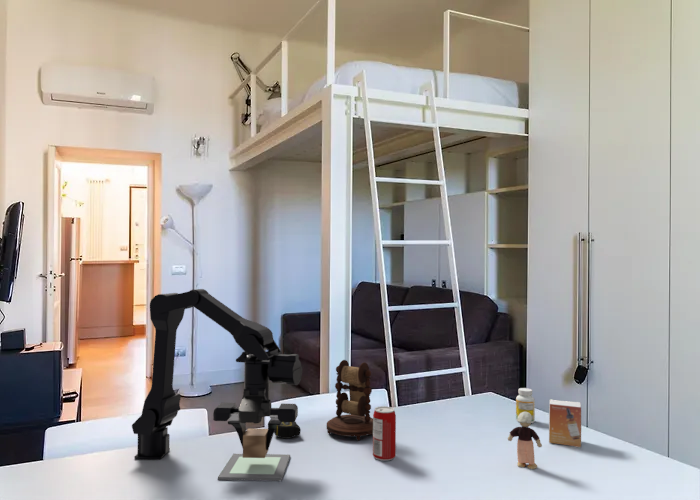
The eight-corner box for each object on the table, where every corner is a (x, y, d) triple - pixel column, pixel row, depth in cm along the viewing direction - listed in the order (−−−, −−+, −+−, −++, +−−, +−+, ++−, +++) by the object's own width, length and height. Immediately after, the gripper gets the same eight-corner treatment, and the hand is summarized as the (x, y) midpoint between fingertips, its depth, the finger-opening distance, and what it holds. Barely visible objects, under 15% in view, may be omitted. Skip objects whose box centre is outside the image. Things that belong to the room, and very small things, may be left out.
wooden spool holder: (388, 430, 150) (389, 359, 150) (361, 445, 137) (362, 368, 138) (345, 421, 157) (345, 354, 158) (315, 435, 145) (316, 362, 145)
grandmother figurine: (541, 464, 125) (541, 411, 125) (541, 471, 121) (541, 415, 122) (507, 460, 127) (508, 408, 128) (507, 466, 124) (507, 412, 124)
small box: (548, 443, 140) (548, 403, 140) (549, 437, 145) (549, 398, 145) (581, 447, 137) (581, 407, 137) (580, 440, 142) (580, 401, 142)
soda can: (398, 455, 130) (398, 406, 131) (390, 462, 125) (391, 412, 126) (377, 451, 133) (378, 403, 133) (369, 459, 128) (369, 409, 128)
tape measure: (301, 439, 142) (301, 425, 142) (275, 441, 140) (276, 427, 140) (295, 431, 149) (296, 418, 149) (271, 433, 147) (271, 420, 147)
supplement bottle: (530, 425, 155) (530, 392, 156) (513, 421, 159) (513, 389, 159) (537, 421, 160) (537, 389, 160) (519, 417, 163) (519, 386, 163)
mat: (217, 479, 115) (217, 476, 115) (233, 456, 129) (233, 453, 129) (281, 480, 115) (281, 477, 115) (290, 457, 129) (290, 454, 129)
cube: (242, 457, 119) (243, 435, 120) (247, 449, 124) (247, 428, 125) (264, 458, 119) (264, 435, 119) (268, 450, 124) (268, 428, 124)
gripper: (206, 389, 114) (205, 462, 114) (292, 391, 114) (291, 463, 114) (220, 378, 126) (219, 444, 125) (298, 379, 125) (297, 445, 125)
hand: (255, 449), depth 122 cm, fingers closed on cube, 5 cm apart
